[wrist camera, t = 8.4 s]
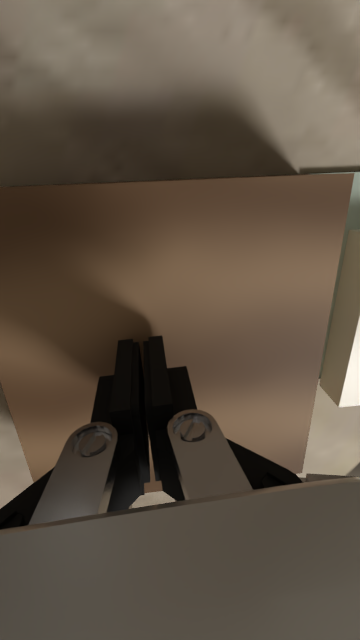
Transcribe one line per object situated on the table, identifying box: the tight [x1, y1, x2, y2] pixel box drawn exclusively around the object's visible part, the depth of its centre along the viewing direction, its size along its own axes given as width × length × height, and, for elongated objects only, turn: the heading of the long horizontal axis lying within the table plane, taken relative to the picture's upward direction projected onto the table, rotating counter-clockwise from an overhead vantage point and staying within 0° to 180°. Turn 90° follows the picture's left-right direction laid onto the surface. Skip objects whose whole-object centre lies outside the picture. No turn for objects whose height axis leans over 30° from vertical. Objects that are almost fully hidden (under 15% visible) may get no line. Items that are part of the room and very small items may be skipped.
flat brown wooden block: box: [0, 173, 355, 493], centre depth 15 cm, size 14×13×4 cm
